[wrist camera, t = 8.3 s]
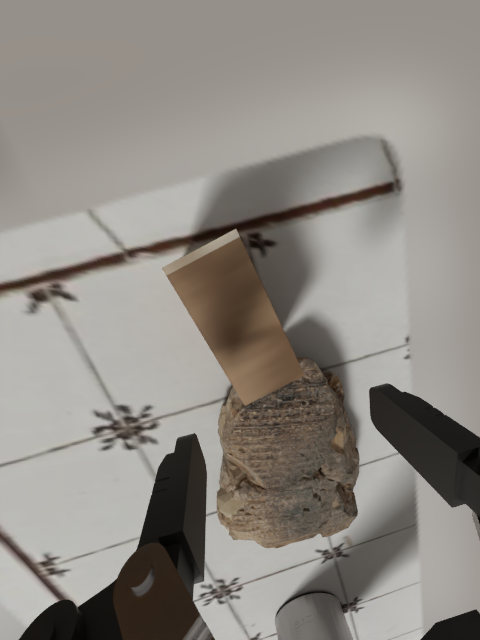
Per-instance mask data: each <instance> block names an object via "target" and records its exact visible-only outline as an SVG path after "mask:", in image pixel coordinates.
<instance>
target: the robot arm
mask: <svg viewBox="0 0 480 640" xmlns="http://www.w3.org/2000/svg"><path fill="white" fill-rule="evenodd" d="M369 396H370V416H371V420H372V422H373V424H374V426H375V427H376V429H377V430H378V431H379V432H380V433H381V434H382V435H383V436H384V437H385V438H386V439H387V440H388V442H389V443H390V444H391V445H392V446H393V447H394V448H395V449H396V450H397V451H398V452H399V453H400V454H401V455H402V456H403V457H404V458H405V459H406V460H407V461H408V462H409V463H410V464H411V465H412V466H413V467H414V468H415V470H416V471H417V472H418V473H419V474H420V475H421V476H422V477H423V478H424V479H425V480H426V481H427V482H428V483H429V484H430V485H431V486H432V487H433V488H434V489H435V490H436V491H437V492H438V493H439V494H440V495H441V496H442V497H443V499H444V500H445V501H446V502H447V503H448V504H449V505H450V506H451V507H456V506H459V505H462V504H466V505H468V506H469V507H470V508H471V509H472V510H473V514H472V516H473V520H474V523H475V526H476V530H477V533H478V536H479V539H480V438H479V437H478V436H476V435H475V434H473V433H472V432H471V431H469V430H468V429H466V428H465V427H463V426H462V425H460V424H459V423H457V422H456V421H454V420H453V419H451V418H450V417H448V416H446V415H444V414H443V413H442V412H441V411H439V410H438V409H436V408H433V406H432V405H430V404H429V403H427V402H426V401H424V400H422V399H421V398H419V397H417V396H414V395H412V394H409V393H407V392H401V391H399V390H398V389H397V388H395V387H394V386H392V385H391V384H383V385H379V386H375V387H372V388H370V390H369ZM206 486H207V471H206V464H205V460H204V456H203V453H202V450H201V447H200V444H199V441H198V438H197V435H196V434H195V433H194V434H191V435H187V436H183V437H179V438H178V439H177V441H176V446H175V451H174V453H171V454H167V455H166V456H165V458H164V459H163V461H162V463H161V464H160V466H159V468H158V472H157V475H156V479H155V483H154V487H153V491H152V495H151V499H150V502H149V506H148V510H147V514H146V518H145V522H144V525H143V529H142V533H141V537H140V541H139V544H138V548H137V550H136V551H135V552H134V553H133V554H132V555H131V556H130V558H129V559H128V560H127V561H126V563H125V564H124V566H123V568H122V569H121V571H120V573H119V575H118V578H117V579H116V580H115V581H114V582H113V583H112V584H110V585H109V586H108V587H106V588H105V589H103V590H102V591H100V592H99V593H98V594H96V595H95V596H93V597H92V598H90V599H89V600H87V601H86V602H85V603H83V604H82V605H80V606H79V607H77V606H76V605H75V604H74V603H73V602H72V601H70V600H62V601H59V602H57V603H54V604H53V605H51V606H50V607H48V608H47V609H46V610H45V611H43V612H42V613H41V614H40V615H39V616H38V617H37V618H36V619H35V620H34V621H33V622H32V623H31V624H30V626H29V627H28V628H27V629H26V631H25V632H24V633H23V635H22V636H21V638H20V639H19V640H215V639H214V637H213V635H212V633H211V632H210V630H209V628H208V626H207V625H206V623H205V622H204V620H203V619H202V617H201V615H200V613H199V611H198V609H197V607H196V606H195V604H194V602H193V587H194V584H196V583H200V582H203V581H204V560H205V523H206ZM275 625H276V631H277V637H278V640H353V637H352V635H351V632H350V629H349V627H348V624H347V621H346V618H345V616H344V613H343V610H342V608H341V605H340V602H339V600H338V599H337V598H336V597H335V596H333V595H330V594H326V593H312V594H308V595H304V596H301V597H298V598H296V599H294V600H292V601H291V602H289V603H288V604H286V605H285V606H284V607H283V608H282V609H281V610H280V611H279V613H278V614H277V617H276V620H275ZM421 640H480V614H479V612H478V611H477V610H473V611H470V612H467V613H464V614H461V615H458V616H455V617H452V618H449V619H446V620H443V621H440V622H437V623H435V625H433V627H432V628H431V629H430V630H429V631H428V632H427V633H426V634H425V635H424V636H423V638H422V639H421Z"/></svg>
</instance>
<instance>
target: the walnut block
mask: <svg viewBox="0 0 480 640" xmlns="http://www.w3.org/2000/svg"><path fill="white" fill-rule="evenodd" d="M162 269H163V271H164V272H165V274H166V276H167V277H168V279H169V281H170V282H171V284H172V286H173V287H174V289H175V291H176V292H177V294H178V296H179V297H180V299H181V301H182V302H183V304H184V306H185V307H186V309H187V311H188V312H189V314H190V316H191V317H192V319H193V321H194V322H195V324H196V326H197V327H198V329H199V331H200V332H201V334H202V336H203V337H204V339H205V341H206V342H207V344H208V346H209V347H210V349H211V350H212V352H213V354H214V355H215V357H216V359H217V360H218V362H219V364H220V365H221V367H222V369H223V370H224V372H225V374H226V375H227V377H228V379H229V380H230V382H231V384H232V385H233V387H234V389H235V390H236V392H237V394H238V395H239V397H240V399H241V400H242V402H243V404H244V405H245V406H246V405H248V404H250V403H252V402H254V401H256V400H258V399H259V398H261V397H263V396H265V395H267V394H269V393H271V392H273V391H275V390H277V389H279V388H281V387H283V386H285V385H287V384H289V383H291V382H293V381H294V380H296V379H298V378H300V377H302V376H304V373H303V371H302V368H301V366H300V364H299V362H298V360H297V358H296V356H295V353H294V351H293V349H292V347H291V345H290V343H289V341H288V339H287V336H286V334H285V332H284V330H283V328H282V326H281V324H280V321H279V319H278V317H277V315H276V313H275V311H274V309H273V306H272V304H271V302H270V300H269V298H268V296H267V294H266V291H265V289H264V287H263V285H262V283H261V281H260V279H259V277H258V274H257V272H256V270H255V268H254V266H253V264H252V262H251V259H250V257H249V255H248V253H247V251H246V249H245V247H244V244H243V242H242V240H241V238H240V236H239V234H238V232H237V229H235V230H233V231H231V232H229V233H227V234H225V235H223V236H221V237H219V238H218V239H216V240H214V241H212V242H210V243H208V244H206V245H204V246H202V247H201V248H199V249H197V250H195V251H193V252H191V253H189V254H187V255H185V256H184V257H182V258H180V259H178V260H176V261H174V262H172V263H170V264H168V265H167V266H165V267H163V268H162Z"/></svg>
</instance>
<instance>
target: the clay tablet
mask: <svg viewBox="0 0 480 640" xmlns="http://www.w3.org/2000/svg"><path fill="white" fill-rule="evenodd" d="M296 358H297V360H298V362H299V364H300V366H301V368H302V371H303V373H304V376H302V377H300V378H298V379H296V380H294V381H293V382H291V383H289V384H287V385H285V386H283V387H281V388H279V389H277V390H275V391H273V392H271V393H269V394H267V395H265V396H263V397H261V398H259V399H258V400H256V401H254V402H252V403H250V404H248V405H246V406H245V405H244V404H243V402H242V400H241V399H240V397H239V395H238V394H237V392H236V390H235V389H234V387H232V389H231V391H230V394H229V397H228V400H227V402H226V404H224V405H222V409H221V412H220V416H219V421H218V425H219V429H218V434H219V436H220V442H221V446H222V449H223V461H222V466H221V473H220V481H219V483H220V490H219V491H218V492H217V513H218V518H219V520H220V523H221V524H222V525H224V526H225V527H226V529H227V530H228V531H229V535H230V536H231V537H232V539H233V540H239V539H240V540H254V541H256V542H257V543H258V544H260V545H261V546H263V547H266V548H271V547H273V548H279V547H282V546H285V545H288V544H290V543H294V542H298V541H302V540H305V539H309V538H313V537H314V536H316V535H317V534H318V533H319V534H321V535H322V537H327V536H331V535H333V534H336V533H338V532H340V531H342V530H344V529H346V528H348V527H349V526H350V524H351V523H352V521H353V520H354V519H355V518H356V516H357V512H358V510H357V505H356V500H355V495H354V493H353V487H354V486H355V484H356V480H357V477H358V474H359V453H358V449H357V448H355V446H356V436H355V434H354V429H353V428H352V426H351V425H350V423H349V421H348V417H347V413H346V410H345V407H344V405H343V400H344V393H343V387H342V383H341V380H340V378H339V376H338V375H336V374H334V373H332V372H329V371H326V370H322V369H319V367H318V365H317V364H316V363H315V362H314V361H313V360H311V359H309V358H307V357H296Z"/></svg>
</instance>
